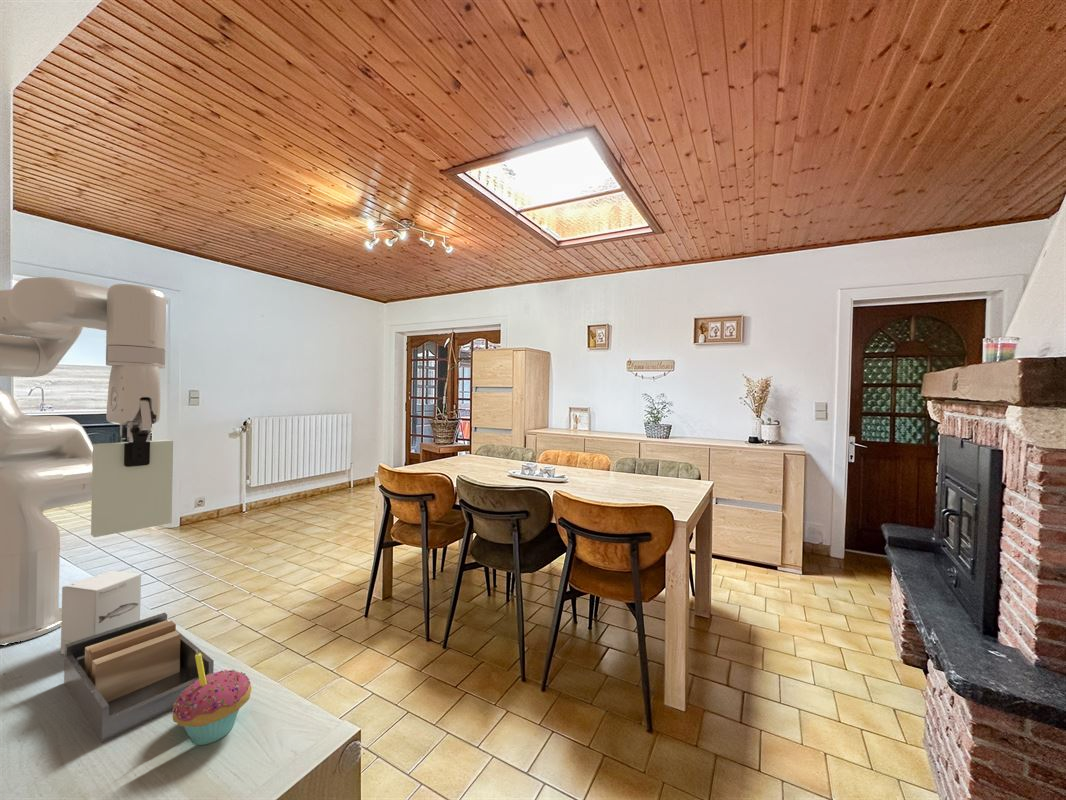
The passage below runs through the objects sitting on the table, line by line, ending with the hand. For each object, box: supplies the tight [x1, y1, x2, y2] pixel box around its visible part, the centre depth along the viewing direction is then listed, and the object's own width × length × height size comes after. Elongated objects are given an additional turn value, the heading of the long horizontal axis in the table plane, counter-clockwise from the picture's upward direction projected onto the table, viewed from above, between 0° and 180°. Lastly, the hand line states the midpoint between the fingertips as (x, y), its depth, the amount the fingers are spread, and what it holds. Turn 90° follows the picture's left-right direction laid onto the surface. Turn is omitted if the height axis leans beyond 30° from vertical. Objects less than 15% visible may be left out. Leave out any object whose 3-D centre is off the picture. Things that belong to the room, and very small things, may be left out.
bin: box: [63, 612, 215, 744], centre depth 65 cm, size 20×12×7 cm, turn 57°
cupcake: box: [172, 650, 252, 746], centre depth 58 cm, size 9×8×12 cm
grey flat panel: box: [90, 439, 174, 538], centre depth 74 cm, size 2×10×15 cm, turn 147°
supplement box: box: [60, 570, 142, 656], centre depth 75 cm, size 7×7×13 cm
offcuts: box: [85, 619, 180, 702], centre depth 66 cm, size 6×10×7 cm, turn 147°
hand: (134, 464), depth 74 cm, fingers closed on grey flat panel, 2 cm apart
